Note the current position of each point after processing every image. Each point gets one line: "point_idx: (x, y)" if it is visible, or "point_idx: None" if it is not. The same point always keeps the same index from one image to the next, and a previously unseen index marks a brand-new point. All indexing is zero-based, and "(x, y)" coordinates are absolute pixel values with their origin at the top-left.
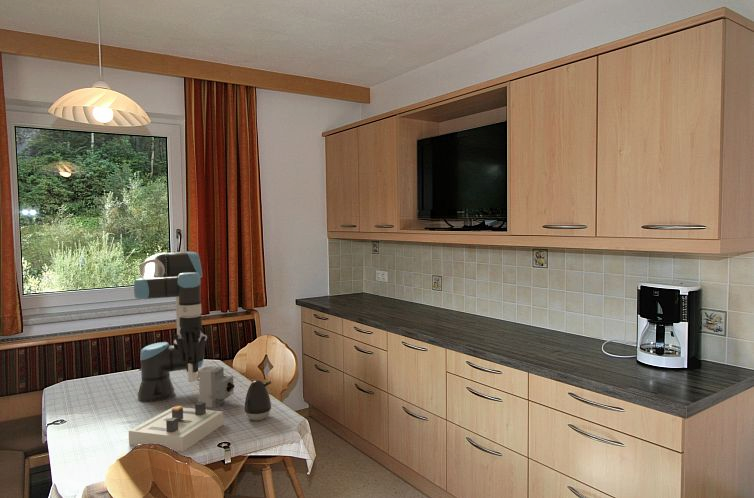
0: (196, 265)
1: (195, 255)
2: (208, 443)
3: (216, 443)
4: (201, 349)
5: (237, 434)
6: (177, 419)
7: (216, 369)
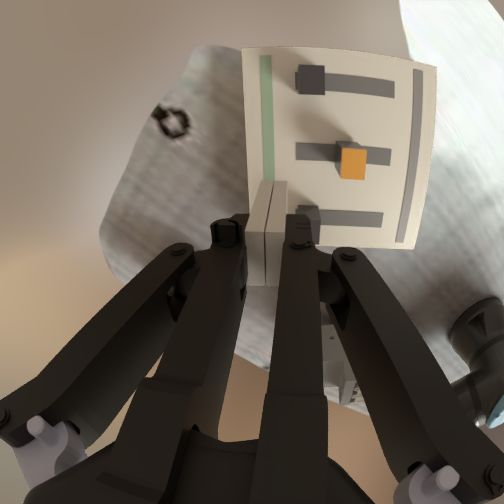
0: None
1: None
2: (215, 114)
3: (195, 121)
4: (93, 327)
5: (181, 182)
6: (299, 92)
7: (349, 393)
